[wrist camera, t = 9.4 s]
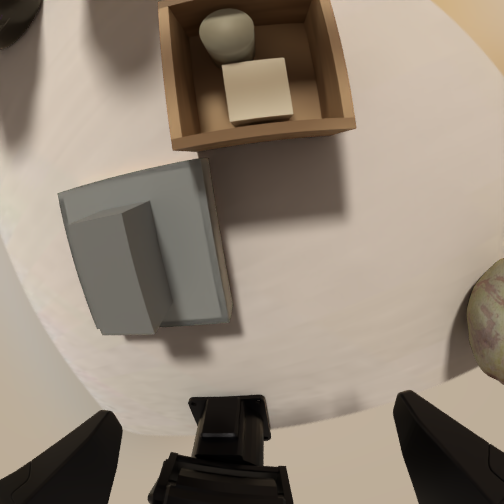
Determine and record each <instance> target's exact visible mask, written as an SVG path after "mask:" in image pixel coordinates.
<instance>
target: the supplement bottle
mask: <svg viewBox="0 0 504 504" xmlns="http://www.w3.org/2000/svg"><path fill="white" fill-rule="evenodd" d="M40 4H41V0H0V49H3V48H6V47H8V46H10V45H11V44H13V43H14V42H15V41H16V40H17V39H19V38H20V37H21V36H22V34H23V33H24V32H25V31H26V30H27V28H28V27H29V26H30V24H31V23H32V21H33V20H34V18H35V16H36V14H37V12H38V10H39V7H40Z"/></svg>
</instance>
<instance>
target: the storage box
mask: <svg viewBox="0 0 504 504" xmlns="http://www.w3.org/2000/svg"><path fill="white" fill-rule="evenodd" d="M158 17H159V32H160V45H161V57H162V68H163V78H164V87H165V96H166V104H167V112H168V120H169V128H170V135H171V142H172V149H173V151H191V152H199V151H205V150H210V149H216V148H223V147H229V146H236V145H242V144H250V143H257V142H265V141H274V140H283V139H293V138H305V137H317V136H331V135H334V134H338V133H341V132H345V131H349V130H352V129H356V122H355V115H354V108H353V102H352V96H351V90H350V84H349V79H348V74H347V68H346V63H345V59H344V54H343V49H342V45H341V41H340V36H339V32H338V28H337V24H336V21H335V17H334V13H333V9H332V6H331V2H330V0H163V1H160V2H158Z"/></svg>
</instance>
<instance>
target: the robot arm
mask: <svg viewBox="0 0 504 504" xmlns="http://www.w3.org/2000/svg"><path fill="white" fill-rule="evenodd" d="M257 400H260V401H257ZM194 402H195V403H194ZM188 404H189V407H190V409H191V412H192V414H193V416H194V419H195V421H196V423H197V426H198V428H197V432H196V437H195V442H194V447H193V452H192V456H191V457H188V456H183V455H178V453H173V452H171V453H170V456H169V458H168V459H166V461H164V462H163V467H162V469H161V473H160V476H159V478H158V480H157V482H156V483H155V485H154V486H153V488H152V490H151V491H150V493H149V495H148V501H149V503H150V504H293V498H292V494H291V489H290V484H289V479H288V474H287V470H286V466H278V467H270V466H263V445H264V441H268V440H270V439H271V433H270V427H269V421H268V415H267V409H266V404H265V398H264V396H262V395H247V396H228V397H191V398H190V399H189V402H188ZM393 416H394V420H395V424H396V428H397V433H398V437H399V442H400V446H401V450H402V455H403V458H404V461H405V464H406V467H407V469H408V472H409V475H410V478H411V481H412V484H413V487H414V490H415V493H416V496H417V499H418V502H419V504H504V452H502V451H501V450H499V449H497V448H496V447H494V446H493V445H491V444H489V443H488V442H487V441H485V440H484V439H482V438H480V437H479V436H477V435H476V434H474V433H473V432H472V431H470V430H469V429H467V428H466V427H464V426H463V425H461V424H460V423H458V422H457V421H455V420H454V419H453V418H451V417H449V416H448V415H447V414H445V413H444V412H442V411H441V410H439V409H438V408H436V407H435V406H434V405H432V404H431V403H429V402H428V401H426V400H425V399H423V398H422V397H420V396H419V395H418V394H416V393H415V392H413V391H412V390H407V391H403V392H400V393H398V395H397V398H396V401H395V405H394V409H393ZM122 431H123V430H122V426H121V424H120V423H119V421H118V419H117V418H116V416H115V415H114V413H113V412H112V411H107V410H100V411H99V412H97V413H96V414H95V415H94V416H92V417H91V418H89V419H88V420H87V421H85V422H84V423H83V424H81V425H80V426H79V427H77V428H76V429H75V430H73V431H72V432H71V433H69V434H68V435H66V436H65V437H64V438H62V439H61V440H59V441H58V442H57V443H55V444H54V445H53V446H51V447H50V448H48V449H47V450H46V451H45V452H43V453H41V454H40V455H39V456H37V457H36V458H34V459H33V460H32V461H30V462H28V463H27V464H26V465H24V466H23V467H21V468H20V469H18V470H17V471H15V472H13V473H12V474H10V475H8V476H6V477H4V478H3V479H1V480H0V504H108V501H109V497H110V492H111V488H112V485H113V481H114V477H115V473H116V469H117V464H118V457H119V451H120V445H121V439H122Z"/></svg>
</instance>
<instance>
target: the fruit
mask: <svg viewBox="0 0 504 504" xmlns="http://www.w3.org/2000/svg"><path fill="white" fill-rule="evenodd" d="M467 323H468V331H469V342H470V345H471V348H472V351H473V354H474V356H475V359H476V361H477V363H478V365H479V366H480V368H481V369H482V371H483V372H484V373H485V374H487V375H488V376H490V377H492V378H494V379H496V380H498V381H499V382H501V383H502V384H503V385H504V258H502V259H500V260H499V261H497V262H496V263H495V264H494V265H493V266H492V267H490V268H489V269H488V270H487V271H486V272H485V274H484V275H483V276H482V277H481V278H480V279H479V281H478V282H477V283H476V285H475V286H474V288H473V291H472V294H471V296H470V299H469V303H468V307H467Z"/></svg>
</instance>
